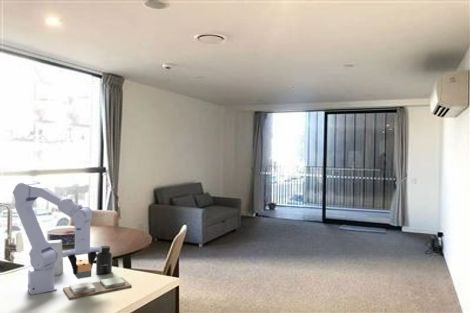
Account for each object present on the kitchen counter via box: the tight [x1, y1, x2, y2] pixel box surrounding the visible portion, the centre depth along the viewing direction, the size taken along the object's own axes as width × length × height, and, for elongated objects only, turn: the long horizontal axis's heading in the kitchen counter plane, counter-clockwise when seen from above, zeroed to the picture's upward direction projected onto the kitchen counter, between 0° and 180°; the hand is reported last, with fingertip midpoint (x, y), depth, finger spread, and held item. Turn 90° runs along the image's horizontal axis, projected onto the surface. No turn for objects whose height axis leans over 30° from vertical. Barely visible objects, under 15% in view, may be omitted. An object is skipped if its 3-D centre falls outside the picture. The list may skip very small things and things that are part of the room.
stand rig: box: [62, 276, 133, 300], centre depth 155 cm, size 24×12×2 cm, turn 125°
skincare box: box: [41, 239, 64, 276], centre depth 173 cm, size 8×6×15 cm
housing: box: [72, 258, 92, 280], centre depth 151 cm, size 5×8×5 cm, turn 35°
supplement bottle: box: [95, 245, 113, 276], centre depth 175 cm, size 7×7×12 cm
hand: (82, 272), depth 151 cm, fingers closed on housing, 5 cm apart
